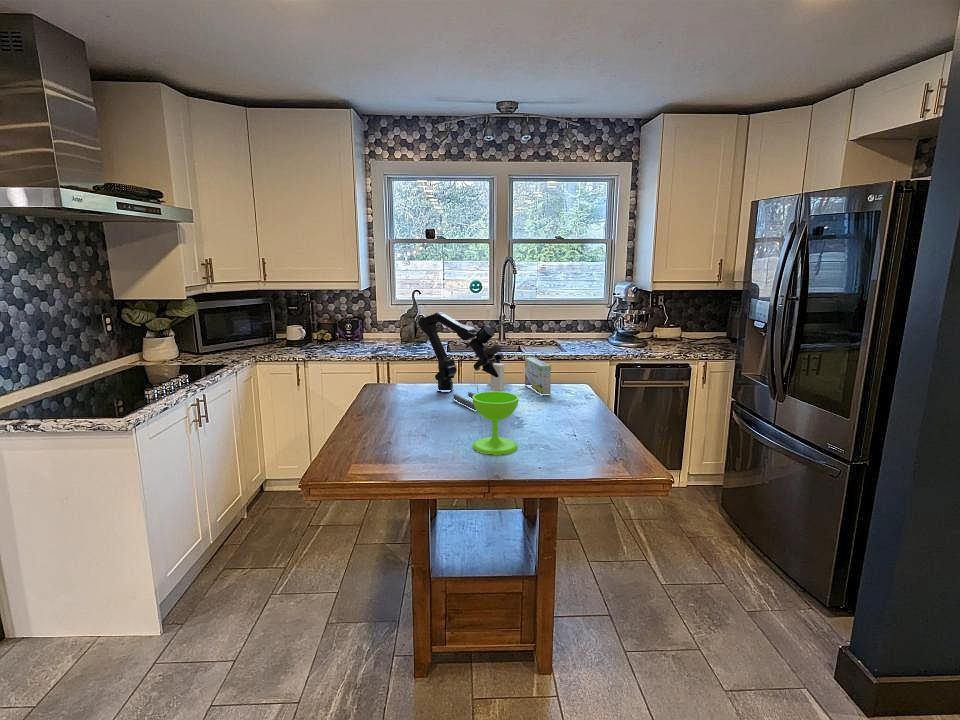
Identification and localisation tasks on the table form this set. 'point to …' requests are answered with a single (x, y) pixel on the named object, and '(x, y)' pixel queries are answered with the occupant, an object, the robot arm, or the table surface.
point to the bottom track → (465, 400)
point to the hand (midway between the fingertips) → (500, 376)
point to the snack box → (538, 375)
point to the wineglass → (495, 420)
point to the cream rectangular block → (498, 382)
